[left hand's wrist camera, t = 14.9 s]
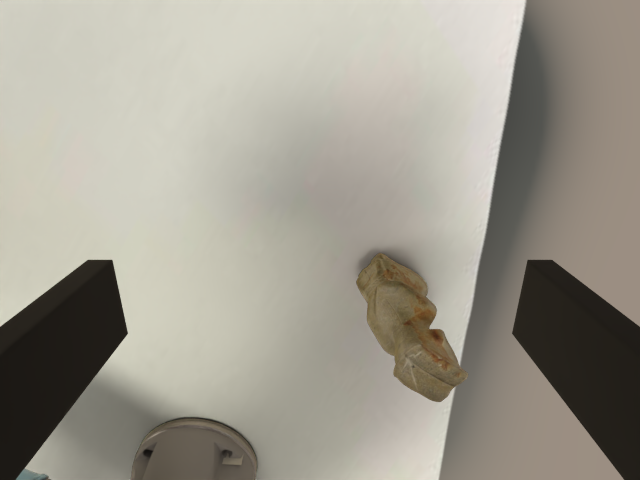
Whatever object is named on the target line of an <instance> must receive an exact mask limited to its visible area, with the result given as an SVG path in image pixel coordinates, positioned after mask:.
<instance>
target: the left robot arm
mask: <svg viewBox="0 0 640 480" xmlns="http://www.w3.org/2000/svg"><path fill="white" fill-rule="evenodd" d="M127 334H128V332H127V327H126V323H125V318H124V313H123V308H122V304H121V299H120V294H119V289H118V285H117V280H116V275H115V270H114V266H113V261H112V260H87V261H86V262H85V263H83V264H82V265H81V266H79V267H78V268H77V269H76V270H74V271H73V272H72V273H70V274H69V275H68V276H66V277H65V278H64V279H62V280H61V281H60V282H58V283H57V284H56V285H55V286H53V287H52V288H51V289H49V290H48V291H47V292H45V293H44V294H43V295H41V296H40V297H39V298H37V299H36V300H35V301H34V302H32V303H31V304H30V305H28V306H27V307H26V308H24V309H23V310H22V311H20V312H19V313H18V314H17V315H15V316H14V317H13V318H11V319H10V320H9V321H7V322H6V323H5V324H3V325H2V326H1V327H0V480H50V479H48V478H49V477H48V476H47V475H45V474H41V475H39V474H37V473H34V472H32V471H29V470H27V469H24V468H25V467H26V466H27V464H28V463H29V462H30V460H31V459H32V458H33V456H34V455H35V454H36V453H37V451H38V450H39V449H40V447H41V446H42V445H43V443H44V442H45V441H46V440H47V438H48V437H49V436H50V434H51V433H52V432H53V430H54V429H55V428H56V426H57V425H58V424H59V423H60V421H61V420H62V419H63V417H64V416H65V415H66V413H67V412H68V411H69V410H70V408H71V407H72V406H73V404H74V403H75V402H76V400H77V399H78V398H79V397H80V395H81V394H82V393H83V391H84V390H85V389H86V387H87V386H88V385H89V383H90V382H91V381H92V380H93V378H94V377H95V376H96V374H97V373H98V372H99V370H100V369H101V368H102V367H103V365H104V364H105V363H106V361H107V360H108V359H109V357H110V356H111V355H112V354H113V352H114V351H115V350H116V348H117V347H118V346H119V344H120V343H121V342H122V340H123V339H124V338H125V337H126V335H127ZM512 334H513V335H514V336H515V338H516V339H517V340H518V342H519V343H520V344H521V346H522V347H523V348H524V350H525V351H526V352H527V353H528V355H529V356H530V357H531V359H532V360H533V361H534V363H535V364H536V365H537V366H538V368H539V369H540V370H541V372H542V373H543V374H544V376H545V377H546V378H547V379H548V381H549V382H550V383H551V385H552V386H553V387H554V389H555V390H556V391H557V393H558V394H559V395H560V396H561V398H562V399H563V400H564V402H565V403H566V404H567V406H568V407H569V408H570V410H571V411H572V412H573V413H574V415H575V416H576V417H577V419H578V420H579V421H580V423H581V424H582V425H583V426H584V428H585V429H586V430H587V432H588V433H589V434H590V436H591V437H592V438H593V440H594V441H595V442H596V443H597V445H598V446H599V447H600V449H601V450H602V451H603V452H604V454H605V455H606V456H607V458H608V459H609V460H610V462H611V463H612V464H613V466H614V467H615V468H616V470H617V471H618V472H619V473H620V475H621V476H622V477H623V479H624V480H640V327H639V326H638V325H637V324H635V323H634V322H633V321H631V320H630V319H629V318H627V317H626V316H625V315H623V314H622V313H621V312H620V311H618V310H617V309H616V308H614V307H613V306H612V305H610V304H609V303H608V302H606V301H605V300H604V299H602V298H601V297H600V296H599V295H597V294H596V293H595V292H593V291H592V290H591V289H589V288H588V287H587V286H585V285H584V284H583V283H582V282H580V281H579V280H578V279H576V278H575V277H574V276H572V275H571V274H570V273H568V272H567V271H566V270H564V269H563V268H562V267H561V266H559V265H558V264H557V263H555V262H554V261H553V260H528V261H527V266H526V270H525V275H524V280H523V285H522V289H521V294H520V299H519V304H518V308H517V313H516V318H515V323H514V327H513V332H512ZM256 471H257V461H256V457H255V454H254V451H253V449H252V448H251V446H250V445H249V443H248V442H247V441H246V440H245V439H244V438H243V437H242V436H241V435H240V434H238V433H237V432H235V431H234V430H232V429H230V428H229V427H227V426H224V425H222V424H219V423H217V422H213V421H209V420H204V419H192V418H190V419H178V420H173V421H170V422H167V423H164V424H162V425H160V426H158V427H156V428H155V429H153V430H152V431H151V432H150V433H149V434H148V435H147V436H146V437H145V438H144V440H143V441H142V443H141V445H140V447H139V449H138V451H137V453H136V456H135V460H134V463H133V467H132V475H131V480H255V477H256Z"/></svg>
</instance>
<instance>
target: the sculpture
mask: <svg viewBox="0 0 640 480" xmlns="http://www.w3.org/2000/svg"><path fill="white" fill-rule="evenodd" d="M356 283H357V286H358V288H359V290H360V292H361V294H362V295H363V297H364V298H365V300H366V301H367V303H368V309H367V322H368V324H369V326H370V328H371V330H372V332H373V333H374V335H375V337H376V338H377V340H378V342H379V343H380V345H381V346H382V348H383V349H384V350H385V351H386V352H387V353H389V354H391V355H393V356H395V363H396V365H395V368H394V372H393V374H394V376H395V377H397V378H398V379H399V380H400V382H402V383H403V384H404V385H405V386H407V387H408V388H410V389H412V390H413V391H415V392H417V393H419V394H421V395H423V396H425V397H426V398H428V399H430V400H432V401H436V402H441V401H442V400H444V399H445V398H446V397H447V396H448V395H449V393H450V391H451V390H452V389H453V388H454V387H455V386H457V385H459V384H460V383H462V382H463V381H464V380H465V379H466V378H467V377H468V373H467V372H466V371H464V370H463V369H462V368H461V367H460V366H459V364H458V361H457V358H456V356H455V354H454V352H453V350H452V348H451V346H450V345H449V343H448V341H447V339H446V337H445V334H444V332H443V331H442V330H440V329H429V327H430V325H431V323H432V322H433V320H434V318H435V316H436V312H437V311H436V307H435V305H434V304H433V303H432V302H431V301H430V300H429V299H427V298H426V295H427V291H428V288H427V284H426V282H425V281H424V280H423V279H422V278H421V277H420V276H419V275H418V274H416V273H415V272H413V271H412V270H410V269H408V268H406V267H404V266H402V265H400V264H398V263H396V262H394V261H393V260H391V259H390V258H388V257H387V256H386V255H384V254H382V253H379V254H377V255H376V256H375V257H374V258H373V259H372V260H371V263H370V264H369V266H368V267H367V268H364V269H363V270H362V272H361V273H360V274H359V276H358V279H357V281H356Z"/></svg>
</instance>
